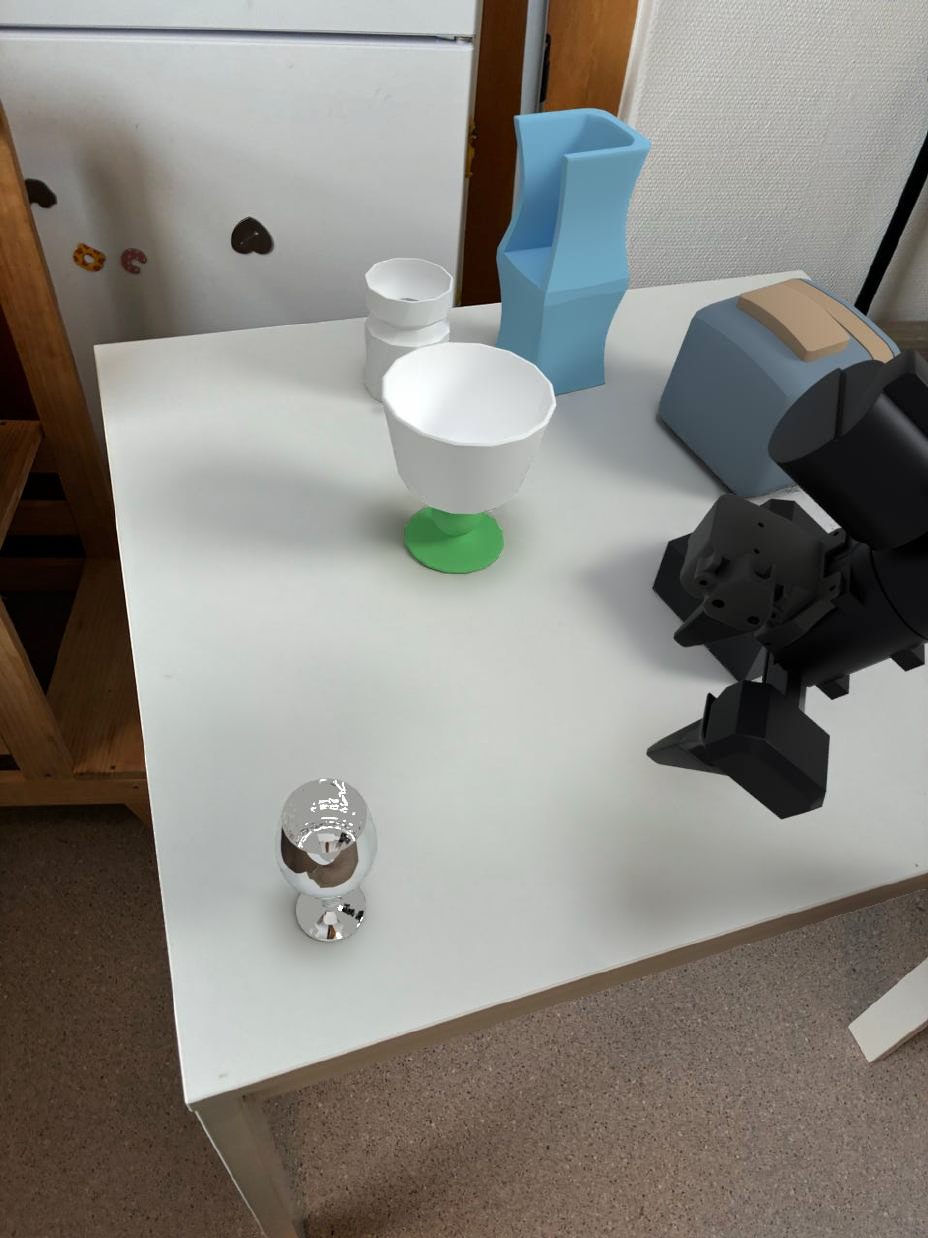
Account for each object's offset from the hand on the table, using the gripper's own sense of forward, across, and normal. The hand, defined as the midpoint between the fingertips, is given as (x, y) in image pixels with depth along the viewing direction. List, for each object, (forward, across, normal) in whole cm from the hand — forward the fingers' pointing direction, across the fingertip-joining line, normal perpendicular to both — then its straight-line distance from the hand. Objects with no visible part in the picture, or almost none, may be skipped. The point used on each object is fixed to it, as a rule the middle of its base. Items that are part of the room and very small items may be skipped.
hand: (665, 695), depth 54 cm
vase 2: (+22, -52, -9) cm, 57 cm away
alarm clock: (+9, -48, +11) cm, 50 cm away
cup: (+22, -22, -9) cm, 33 cm away
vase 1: (+29, -42, -20) cm, 55 cm away
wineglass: (+20, +14, -6) cm, 25 cm away
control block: (+8, -23, +13) cm, 27 cm away
